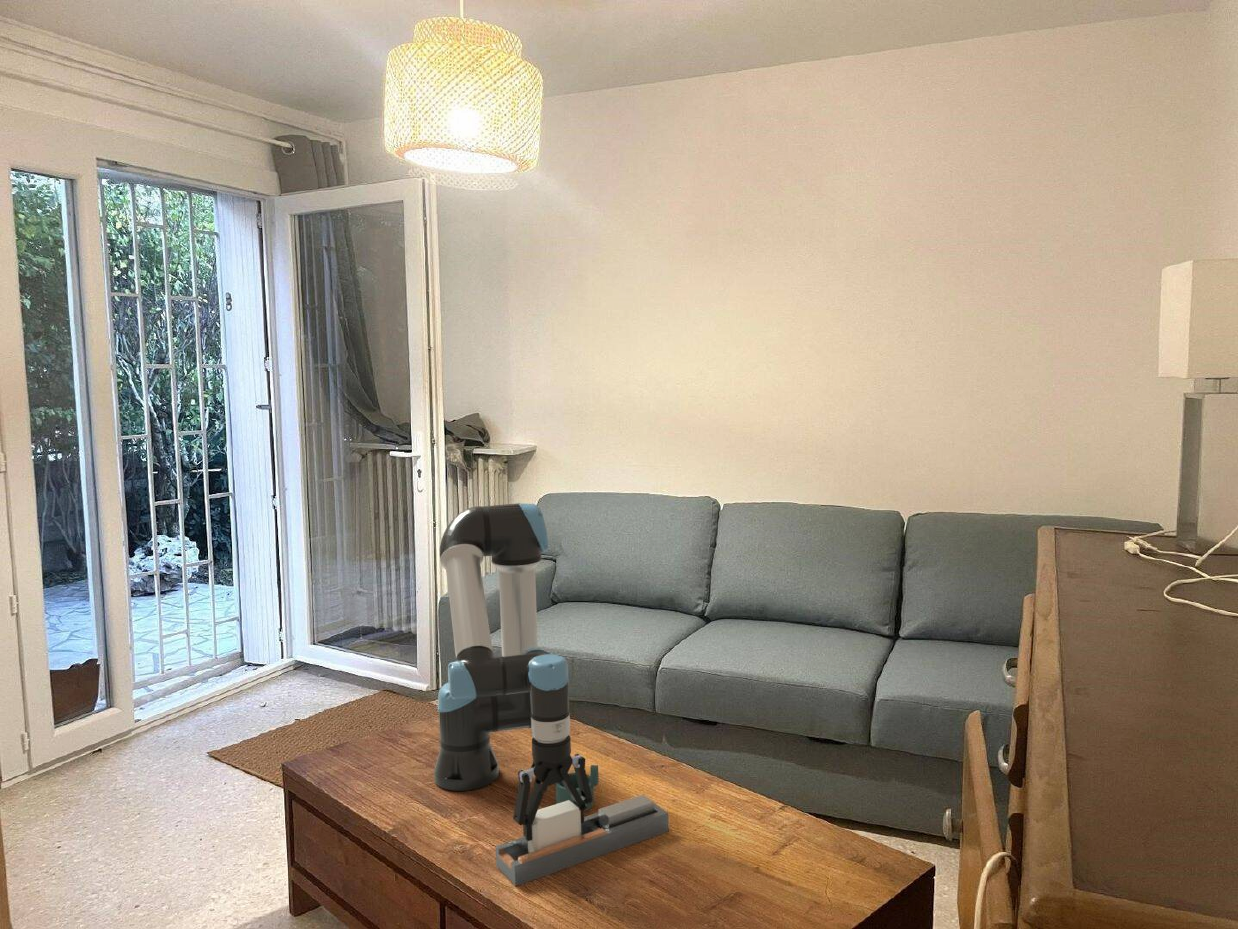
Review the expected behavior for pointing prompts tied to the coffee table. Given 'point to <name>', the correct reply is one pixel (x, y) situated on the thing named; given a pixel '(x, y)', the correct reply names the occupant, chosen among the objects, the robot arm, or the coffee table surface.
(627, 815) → the rack
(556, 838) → the block
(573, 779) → the teal cylindrical holder
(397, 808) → the coffee table surface
